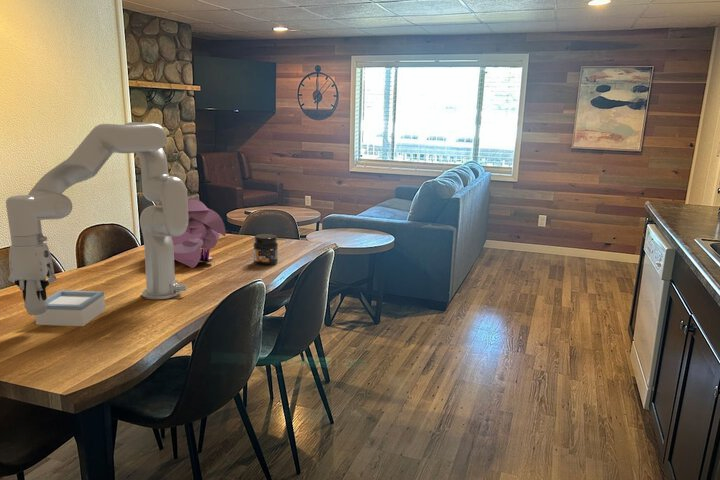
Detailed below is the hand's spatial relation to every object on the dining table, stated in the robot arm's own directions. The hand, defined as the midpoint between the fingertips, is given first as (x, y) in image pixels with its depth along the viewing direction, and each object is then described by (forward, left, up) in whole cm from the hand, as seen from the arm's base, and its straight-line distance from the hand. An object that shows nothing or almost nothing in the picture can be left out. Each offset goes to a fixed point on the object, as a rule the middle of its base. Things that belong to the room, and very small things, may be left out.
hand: (35, 301), depth 153 cm
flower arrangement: (-18, -81, -9) cm, 84 cm away
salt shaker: (0, 0, -4) cm, 4 cm away
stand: (-4, -11, -9) cm, 15 cm away
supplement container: (-52, -81, -9) cm, 97 cm away
